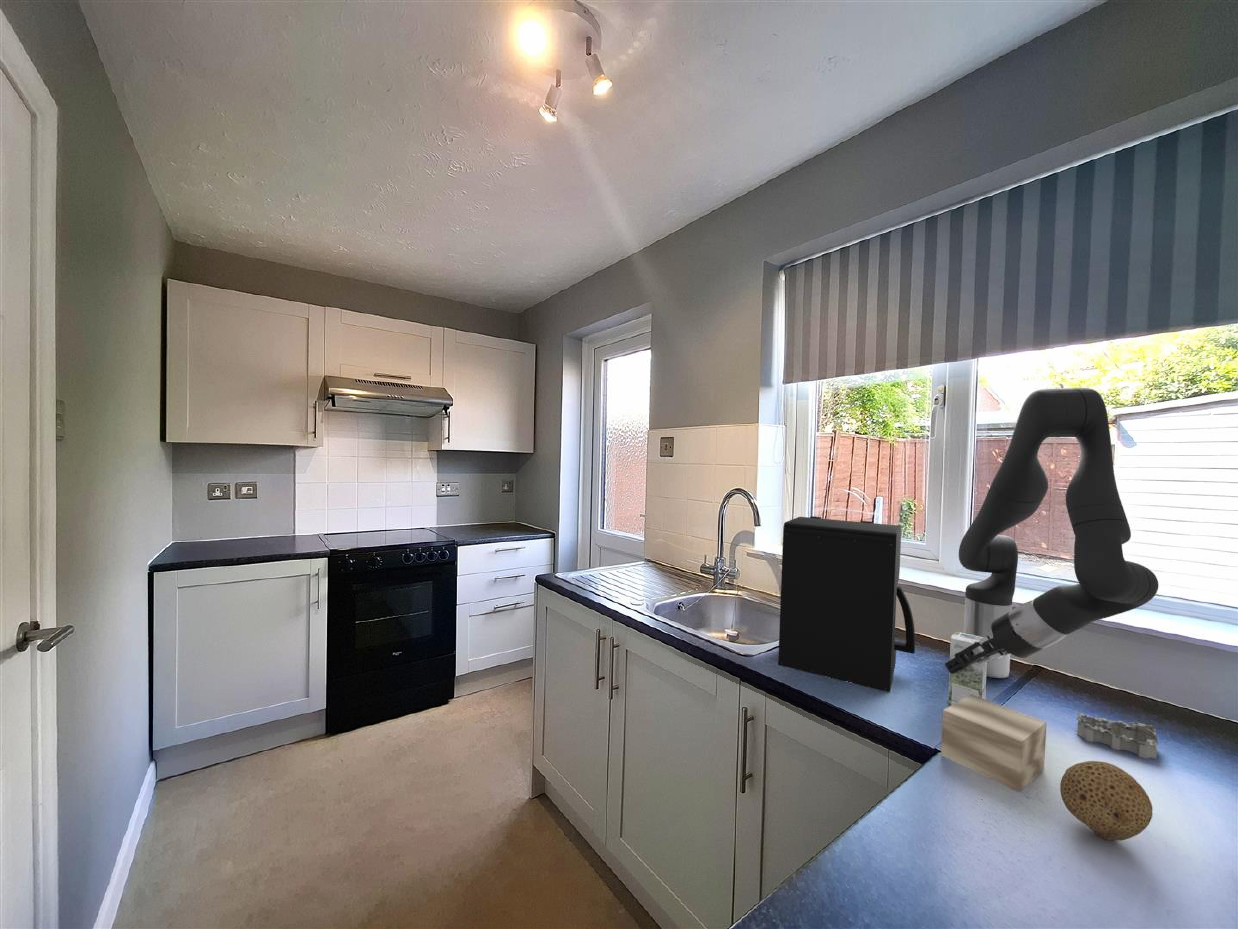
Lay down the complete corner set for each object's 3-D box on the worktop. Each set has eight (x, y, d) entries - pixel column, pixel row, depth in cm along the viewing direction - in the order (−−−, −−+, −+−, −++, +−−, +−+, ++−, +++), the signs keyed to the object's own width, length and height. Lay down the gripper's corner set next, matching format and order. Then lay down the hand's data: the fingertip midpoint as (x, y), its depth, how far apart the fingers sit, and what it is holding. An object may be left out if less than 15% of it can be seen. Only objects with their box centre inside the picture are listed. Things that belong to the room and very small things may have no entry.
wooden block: (968, 737, 92) (970, 694, 92) (1044, 769, 83) (1046, 722, 83) (941, 756, 86) (943, 710, 86) (1019, 793, 77) (1021, 742, 77)
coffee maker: (914, 667, 122) (921, 525, 122) (911, 698, 106) (918, 534, 105) (796, 641, 138) (801, 514, 137) (777, 665, 121) (783, 521, 120)
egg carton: (1157, 749, 90) (1159, 726, 90) (1157, 765, 85) (1158, 742, 85) (1078, 724, 98) (1079, 703, 98) (1073, 737, 93) (1074, 716, 93)
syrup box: (985, 707, 102) (988, 637, 101) (981, 718, 97) (984, 644, 97) (952, 698, 105) (955, 629, 105) (947, 707, 101) (949, 636, 101)
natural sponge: (1128, 873, 62) (1132, 794, 62) (1043, 823, 70) (1046, 753, 70) (1163, 852, 66) (1167, 777, 65) (1078, 807, 74) (1082, 740, 74)
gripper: (1033, 605, 97) (967, 643, 108) (991, 614, 91) (925, 653, 102) (1066, 641, 93) (993, 678, 103) (1024, 653, 86) (951, 690, 97)
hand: (960, 665), depth 103 cm, fingers closed on syrup box, 7 cm apart
